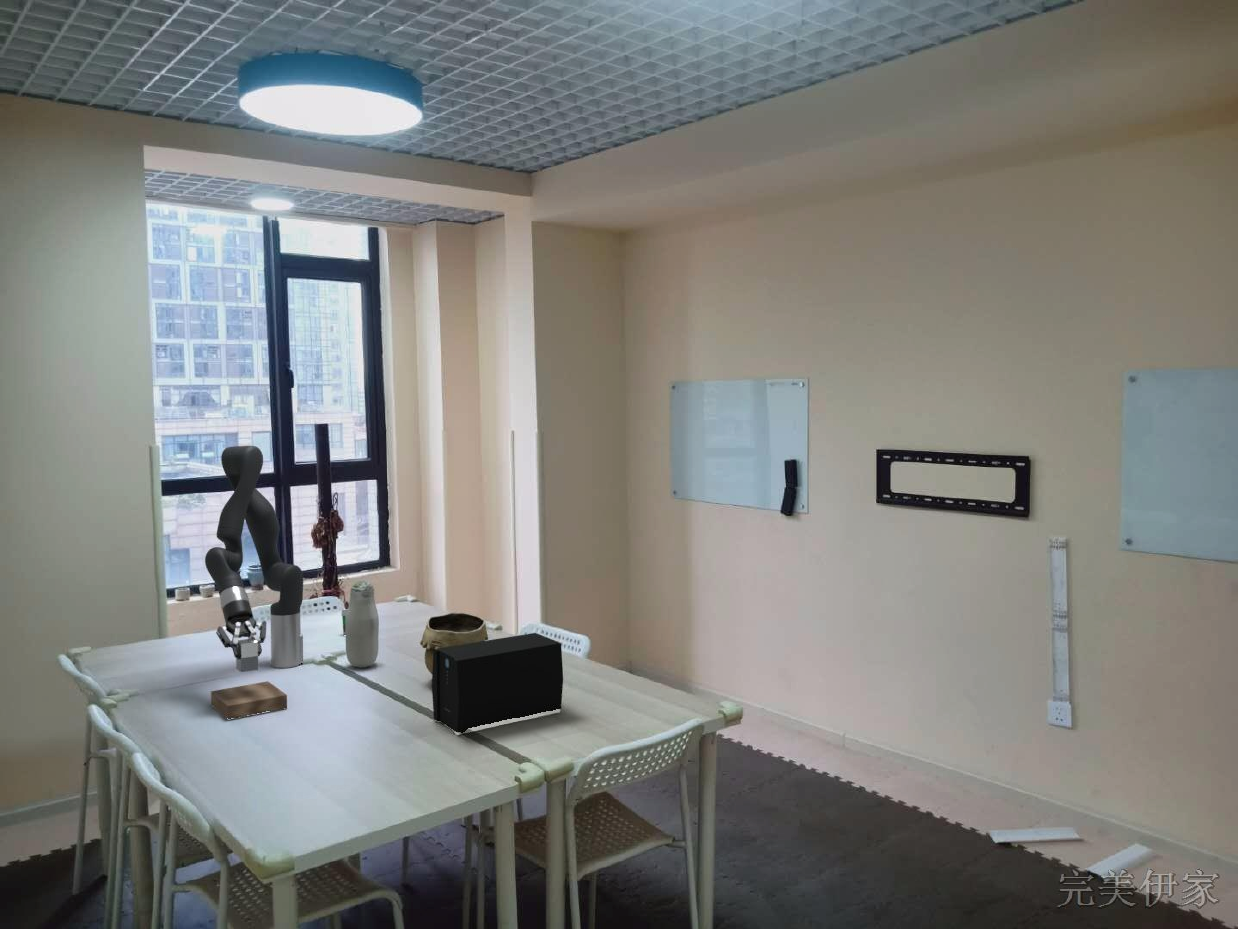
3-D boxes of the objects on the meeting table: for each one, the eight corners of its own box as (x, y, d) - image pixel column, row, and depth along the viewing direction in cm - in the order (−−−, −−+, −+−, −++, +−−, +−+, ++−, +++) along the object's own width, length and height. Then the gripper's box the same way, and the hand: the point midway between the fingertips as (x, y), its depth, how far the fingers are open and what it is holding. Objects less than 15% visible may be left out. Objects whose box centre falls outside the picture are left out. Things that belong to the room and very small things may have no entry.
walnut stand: (268, 694, 280) (268, 681, 280) (287, 708, 268) (286, 695, 268) (211, 705, 270) (211, 691, 270) (228, 720, 258) (227, 706, 258)
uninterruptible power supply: (432, 719, 260) (431, 648, 259) (537, 697, 280) (538, 631, 279) (458, 737, 247) (458, 661, 246) (568, 713, 267) (568, 643, 265)
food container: (357, 638, 346) (356, 611, 345) (341, 637, 347) (341, 610, 347) (372, 630, 358) (372, 603, 357) (357, 629, 359) (357, 603, 359)
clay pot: (500, 686, 291) (500, 621, 289) (434, 697, 280) (434, 630, 278) (474, 669, 308) (474, 608, 307) (411, 678, 298) (410, 615, 296)
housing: (252, 666, 271) (252, 638, 271) (258, 669, 268) (258, 641, 267) (236, 668, 269) (236, 640, 268) (241, 672, 265) (241, 644, 264)
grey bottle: (340, 669, 307) (339, 583, 305) (359, 661, 317) (359, 577, 315) (365, 672, 303) (364, 585, 301) (384, 664, 313) (384, 580, 311)
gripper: (212, 601, 268) (225, 652, 260) (263, 596, 277) (278, 645, 269) (207, 616, 273) (220, 667, 264) (258, 610, 282) (271, 659, 273)
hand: (249, 656), depth 266 cm, fingers closed on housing, 4 cm apart
